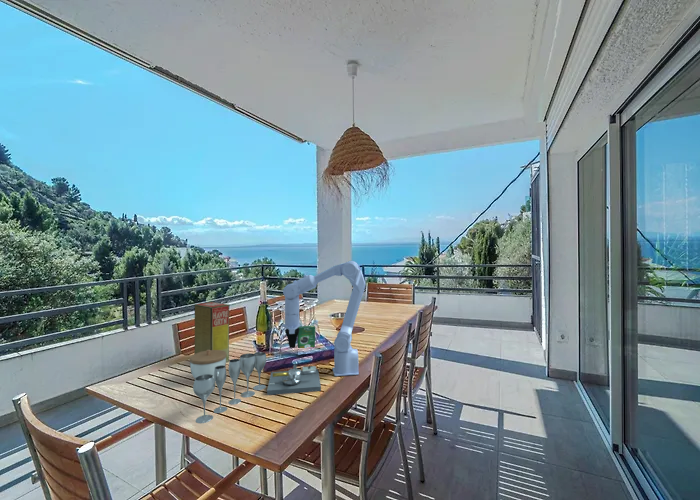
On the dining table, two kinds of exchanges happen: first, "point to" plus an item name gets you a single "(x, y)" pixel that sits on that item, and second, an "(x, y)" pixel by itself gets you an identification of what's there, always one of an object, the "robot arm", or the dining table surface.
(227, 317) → the food packaging
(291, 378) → the capstan
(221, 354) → the lidded bowl
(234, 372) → the goblet set
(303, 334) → the coffee box
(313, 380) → the levelling stand
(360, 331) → the dining table surface
